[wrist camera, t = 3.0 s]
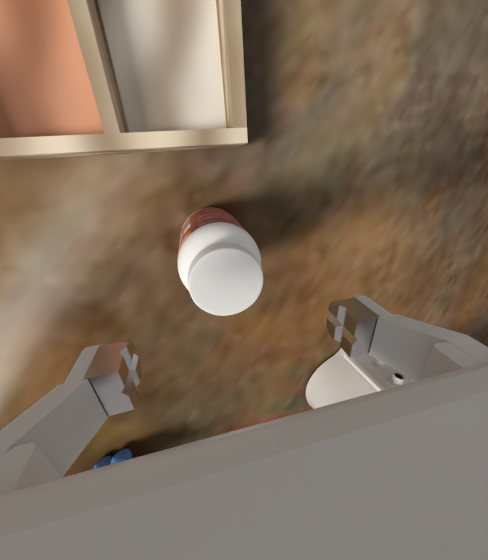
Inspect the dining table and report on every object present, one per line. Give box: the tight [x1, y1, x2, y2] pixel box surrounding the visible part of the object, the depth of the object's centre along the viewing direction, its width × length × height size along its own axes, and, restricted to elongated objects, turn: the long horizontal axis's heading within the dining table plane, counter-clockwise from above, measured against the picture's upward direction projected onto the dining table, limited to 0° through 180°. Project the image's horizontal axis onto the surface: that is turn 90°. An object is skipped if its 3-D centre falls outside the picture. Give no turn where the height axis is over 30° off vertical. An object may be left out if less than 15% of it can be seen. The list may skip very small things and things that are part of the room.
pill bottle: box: [178, 207, 263, 316], centre depth 19 cm, size 6×6×11 cm
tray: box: [0, 0, 248, 161], centre depth 16 cm, size 19×10×4 cm, turn 94°
